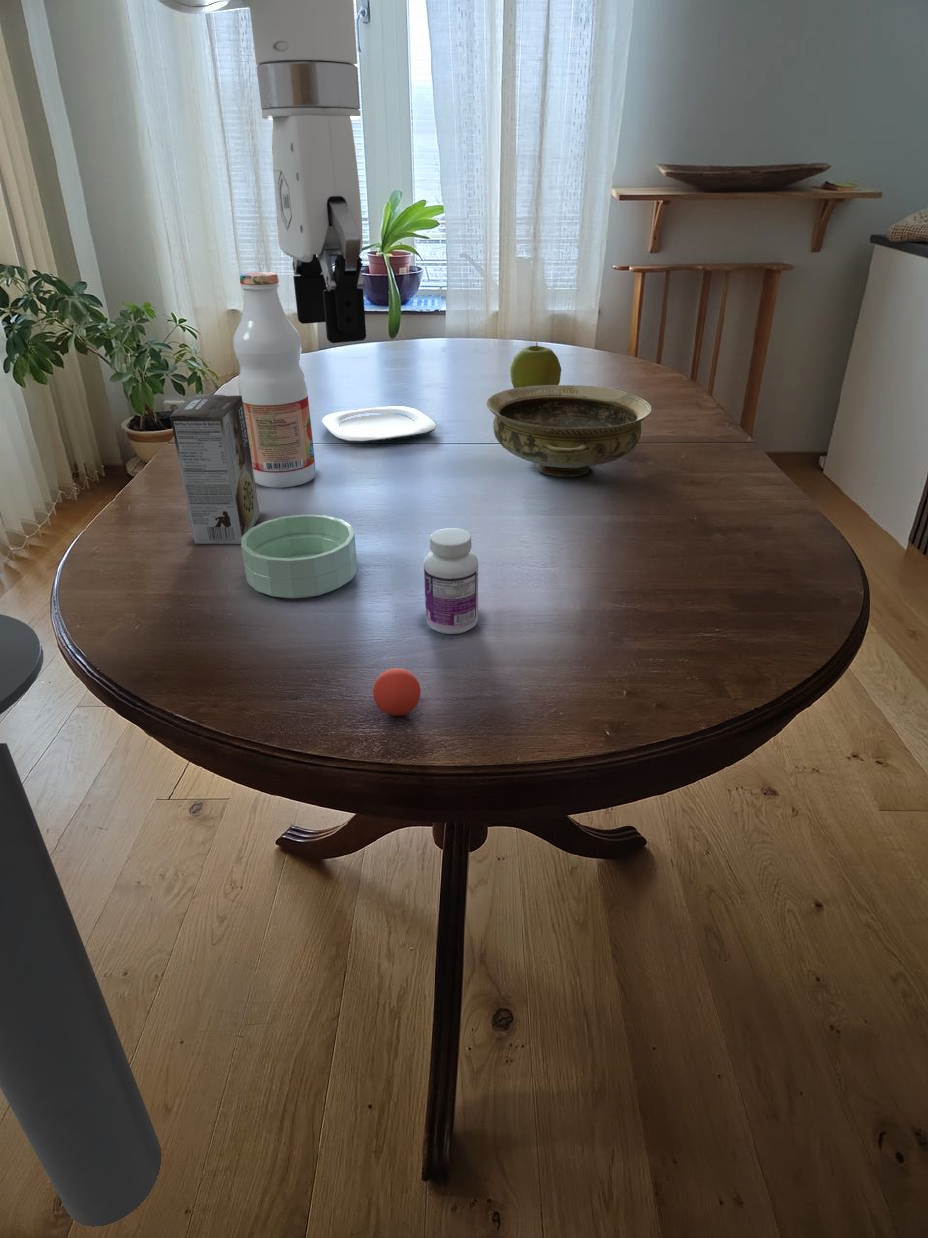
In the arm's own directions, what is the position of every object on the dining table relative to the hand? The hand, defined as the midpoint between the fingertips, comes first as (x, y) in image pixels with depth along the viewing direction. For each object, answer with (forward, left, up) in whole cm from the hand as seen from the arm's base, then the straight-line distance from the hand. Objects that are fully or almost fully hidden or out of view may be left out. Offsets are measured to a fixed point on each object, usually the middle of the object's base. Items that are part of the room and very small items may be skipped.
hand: (330, 330), depth 69 cm
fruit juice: (+26, +34, -28) cm, 51 cm away
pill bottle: (+3, -10, -28) cm, 30 cm away
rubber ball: (-12, -14, -26) cm, 32 cm away
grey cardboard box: (+8, +27, -28) cm, 40 cm away
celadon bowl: (+3, +10, -28) cm, 30 cm away
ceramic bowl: (+51, 0, -28) cm, 58 cm away
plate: (+52, +36, -28) cm, 69 cm away
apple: (+84, +22, -28) cm, 91 cm away
